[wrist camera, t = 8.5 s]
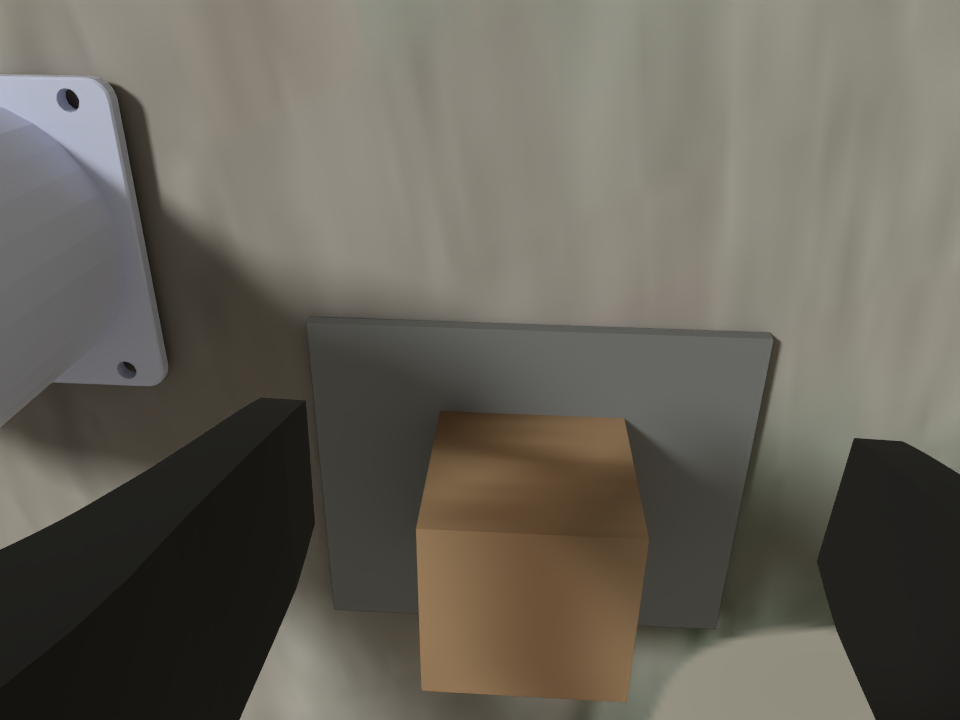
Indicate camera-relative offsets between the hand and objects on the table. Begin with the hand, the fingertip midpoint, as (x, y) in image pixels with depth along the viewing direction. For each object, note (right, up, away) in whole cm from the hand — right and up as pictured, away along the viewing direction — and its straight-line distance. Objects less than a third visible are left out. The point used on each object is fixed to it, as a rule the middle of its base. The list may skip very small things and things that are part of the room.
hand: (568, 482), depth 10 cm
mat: (0, -2, +12) cm, 12 cm away
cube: (0, -2, +12) cm, 12 cm away
